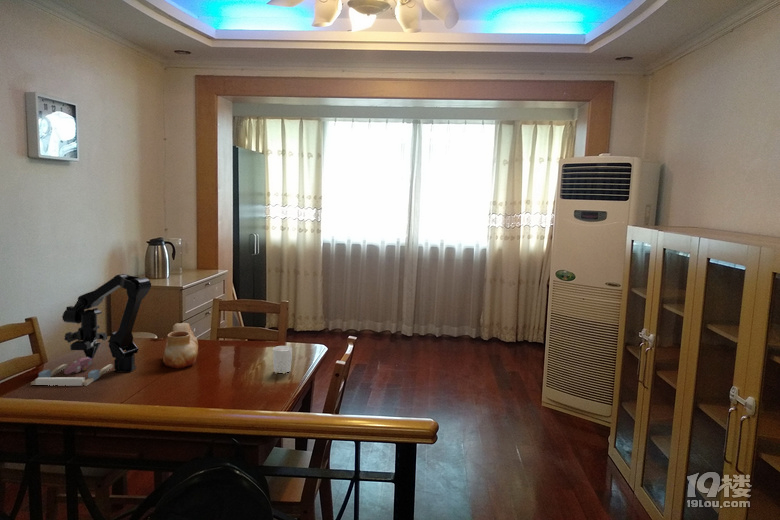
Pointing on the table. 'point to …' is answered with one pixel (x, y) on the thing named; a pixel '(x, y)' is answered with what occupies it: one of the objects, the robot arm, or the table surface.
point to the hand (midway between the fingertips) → (89, 361)
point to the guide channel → (68, 381)
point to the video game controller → (79, 365)
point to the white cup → (282, 358)
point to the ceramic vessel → (180, 347)
